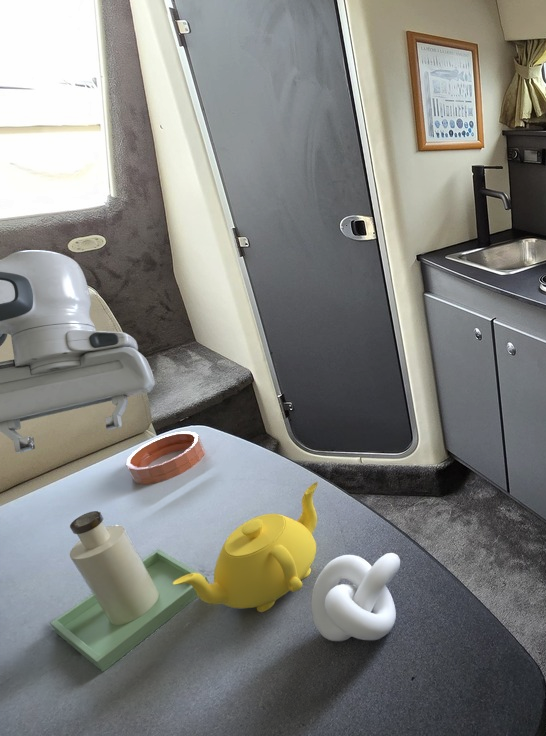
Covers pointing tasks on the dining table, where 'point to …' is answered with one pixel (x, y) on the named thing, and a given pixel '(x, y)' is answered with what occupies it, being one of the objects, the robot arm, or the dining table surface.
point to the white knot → (355, 598)
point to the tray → (112, 642)
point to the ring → (160, 448)
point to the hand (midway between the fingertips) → (71, 439)
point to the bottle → (112, 569)
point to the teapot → (261, 560)
